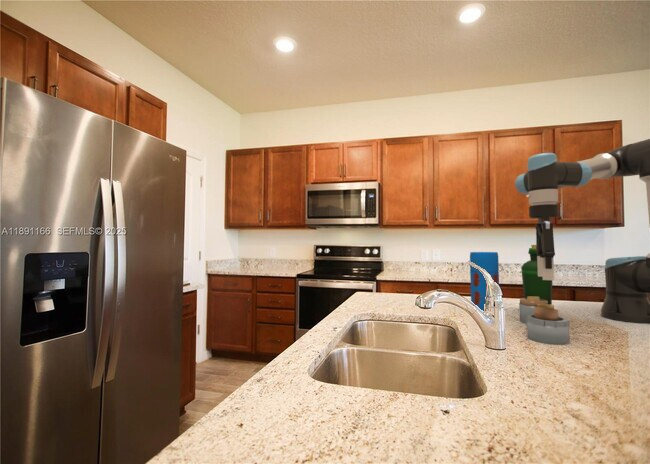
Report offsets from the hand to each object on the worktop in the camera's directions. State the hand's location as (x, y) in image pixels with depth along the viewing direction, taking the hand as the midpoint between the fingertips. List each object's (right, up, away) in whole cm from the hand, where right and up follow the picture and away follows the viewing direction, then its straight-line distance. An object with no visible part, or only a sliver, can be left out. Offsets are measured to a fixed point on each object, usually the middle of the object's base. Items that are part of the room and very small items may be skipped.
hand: (545, 278), depth 98 cm
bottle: (+18, -19, +31) cm, 41 cm away
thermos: (0, -20, +37) cm, 42 cm away
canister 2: (0, -18, 0) cm, 18 cm away
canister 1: (+9, -19, +20) cm, 29 cm away
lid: (0, -13, 0) cm, 13 cm away
